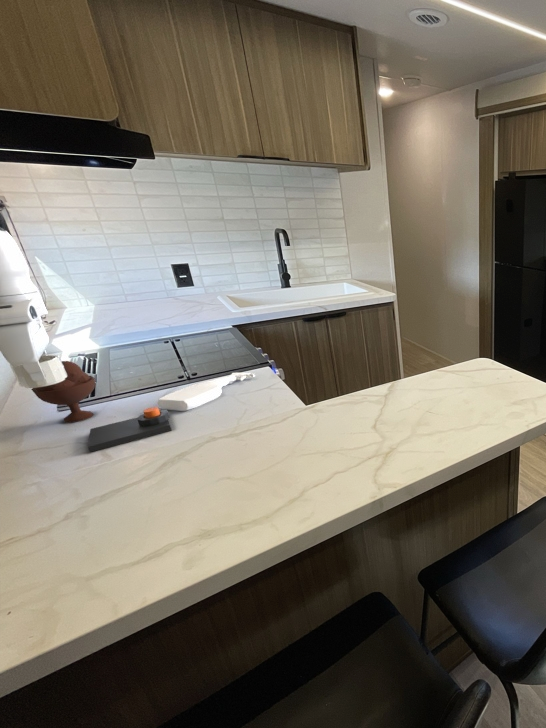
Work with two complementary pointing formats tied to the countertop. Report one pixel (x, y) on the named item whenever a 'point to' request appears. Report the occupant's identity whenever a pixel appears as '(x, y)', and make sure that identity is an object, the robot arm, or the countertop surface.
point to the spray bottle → (198, 393)
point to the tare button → (151, 412)
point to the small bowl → (51, 370)
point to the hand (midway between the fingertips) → (42, 374)
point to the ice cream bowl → (69, 392)
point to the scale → (128, 431)
